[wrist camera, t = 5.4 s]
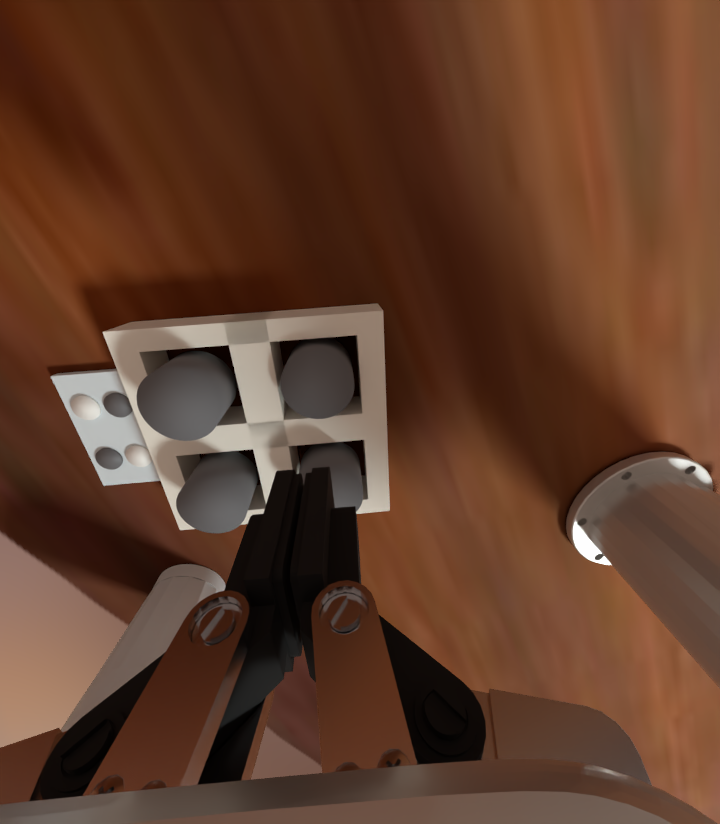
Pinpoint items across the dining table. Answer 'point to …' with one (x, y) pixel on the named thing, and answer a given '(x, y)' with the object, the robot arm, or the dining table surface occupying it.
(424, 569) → the dining table surface
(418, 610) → the dining table surface
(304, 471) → the button
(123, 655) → the cup
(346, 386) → the camera button
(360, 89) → the dining table surface
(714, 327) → the dining table surface
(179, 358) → the button camera
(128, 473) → the card
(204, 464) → the button
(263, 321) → the board
